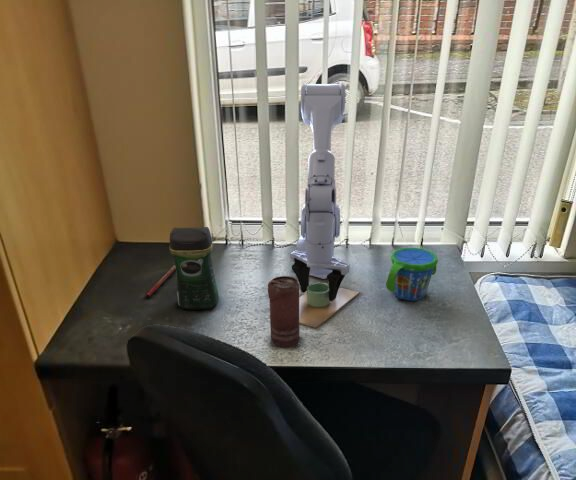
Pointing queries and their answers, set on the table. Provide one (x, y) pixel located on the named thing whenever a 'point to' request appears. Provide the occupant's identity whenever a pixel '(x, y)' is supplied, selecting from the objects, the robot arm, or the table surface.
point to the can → (284, 311)
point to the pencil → (160, 282)
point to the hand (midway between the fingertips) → (318, 295)
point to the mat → (323, 308)
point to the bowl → (318, 295)
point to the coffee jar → (194, 267)
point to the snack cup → (411, 272)
